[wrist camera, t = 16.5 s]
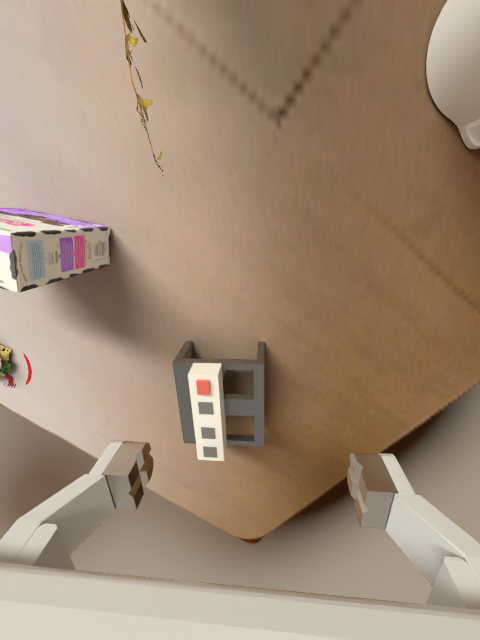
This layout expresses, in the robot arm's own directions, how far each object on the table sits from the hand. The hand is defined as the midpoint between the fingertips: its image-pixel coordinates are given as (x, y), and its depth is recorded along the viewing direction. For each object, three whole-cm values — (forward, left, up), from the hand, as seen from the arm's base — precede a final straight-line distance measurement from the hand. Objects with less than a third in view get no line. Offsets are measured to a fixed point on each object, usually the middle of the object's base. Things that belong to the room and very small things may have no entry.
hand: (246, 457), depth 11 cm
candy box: (+29, -7, -31) cm, 43 cm away
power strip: (+7, +18, -28) cm, 34 cm away
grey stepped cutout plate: (+6, +18, -31) cm, 36 cm away
